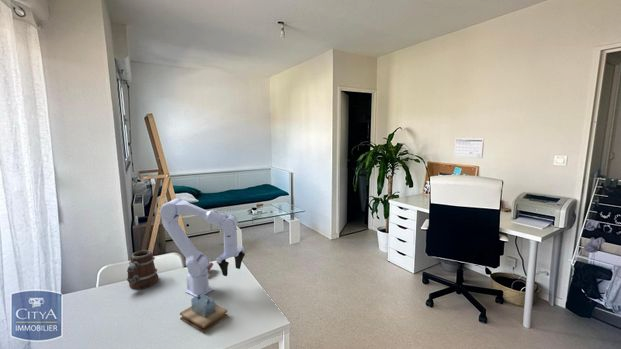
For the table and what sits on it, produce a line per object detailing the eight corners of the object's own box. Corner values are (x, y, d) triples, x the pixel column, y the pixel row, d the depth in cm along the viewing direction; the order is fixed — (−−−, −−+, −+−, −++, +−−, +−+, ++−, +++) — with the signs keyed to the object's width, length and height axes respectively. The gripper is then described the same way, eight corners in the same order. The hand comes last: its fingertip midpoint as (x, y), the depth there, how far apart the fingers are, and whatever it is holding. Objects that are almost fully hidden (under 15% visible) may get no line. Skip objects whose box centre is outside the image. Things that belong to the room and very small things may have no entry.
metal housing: (205, 318, 104) (204, 304, 103) (191, 311, 108) (191, 297, 107) (215, 311, 108) (214, 298, 107) (202, 304, 112) (201, 292, 111)
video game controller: (200, 282, 138) (205, 271, 136) (193, 277, 138) (198, 266, 136) (211, 272, 147) (216, 261, 146) (204, 268, 148) (209, 257, 146)
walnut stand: (180, 319, 107) (179, 312, 107) (204, 304, 117) (204, 298, 116) (203, 333, 100) (203, 326, 100) (227, 316, 109) (227, 309, 109)
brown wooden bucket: (140, 276, 140) (137, 247, 138) (163, 277, 139) (161, 248, 137) (116, 294, 124) (113, 262, 122) (143, 295, 124) (140, 263, 121)
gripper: (223, 250, 115) (225, 281, 117) (248, 239, 128) (249, 267, 130) (212, 247, 119) (214, 276, 121) (237, 236, 131) (238, 263, 133)
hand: (231, 271), depth 126 cm, fingers open, 7 cm apart
